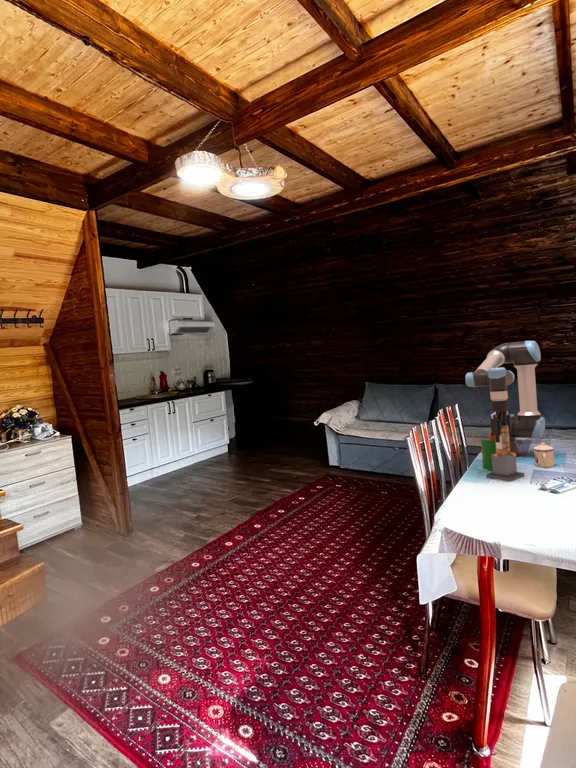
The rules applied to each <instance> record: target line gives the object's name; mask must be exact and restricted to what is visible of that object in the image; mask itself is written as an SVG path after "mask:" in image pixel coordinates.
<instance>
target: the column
mask: <svg viewBox="0 0 576 768" xmlns="http://www.w3.org/2000/svg"><path fill="white" fill-rule="evenodd" d="M500 435H502V448H503V449H496V453H500V454H501V455H507V454H510V441H509V429H508V426H507V425H501V432H500ZM495 443H496V440H495Z"/></svg>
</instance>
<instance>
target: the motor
mask: <svg viewBox="0 0 576 768" xmlns="http://www.w3.org/2000/svg"><path fill="white" fill-rule="evenodd" d="M480 445H481V458H482V469H483V470H486V471H490V472H493V470H492V457H491V454H492V453H496V443H495V440H494V435H492V431H491V430H490V431H489V439H484V438H483V437H482V438H480Z"/></svg>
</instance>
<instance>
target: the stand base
mask: <svg viewBox="0 0 576 768" xmlns="http://www.w3.org/2000/svg"><path fill="white" fill-rule="evenodd" d="M491 457H492V470H493V471H490V472H489V473H486V474H485V478H487V479H492V480H493V479H494V480H499V481H504V482H508V483H509V482H513V481H515V480H517V479H520V478H524V477H525V473H524V472H519V471H518V469H517V468H518V467H517V466H518V465H517V456H516V453H513V452H510V454H507V455H501V454H500V453H492V454H491Z"/></svg>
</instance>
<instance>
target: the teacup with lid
mask: <svg viewBox="0 0 576 768" xmlns="http://www.w3.org/2000/svg"><path fill="white" fill-rule="evenodd" d="M554 450H555V449H554V447H553V446H549V445H548V444H546V443H545V442H541V443H540V444H538V445H537V446H534V447H533V454H534V455H533V456H534V465H535V466H536V467H539V468H551V467H553V468H554V466H555V456H554Z"/></svg>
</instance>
